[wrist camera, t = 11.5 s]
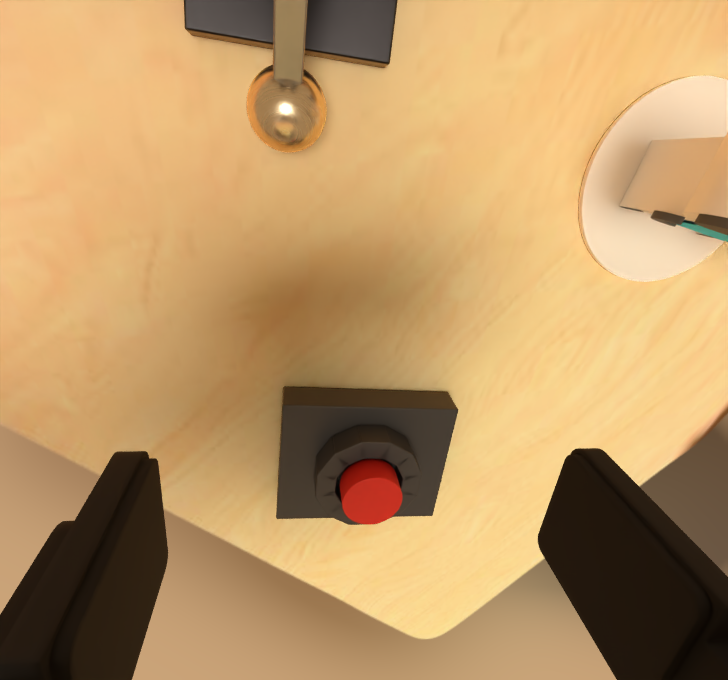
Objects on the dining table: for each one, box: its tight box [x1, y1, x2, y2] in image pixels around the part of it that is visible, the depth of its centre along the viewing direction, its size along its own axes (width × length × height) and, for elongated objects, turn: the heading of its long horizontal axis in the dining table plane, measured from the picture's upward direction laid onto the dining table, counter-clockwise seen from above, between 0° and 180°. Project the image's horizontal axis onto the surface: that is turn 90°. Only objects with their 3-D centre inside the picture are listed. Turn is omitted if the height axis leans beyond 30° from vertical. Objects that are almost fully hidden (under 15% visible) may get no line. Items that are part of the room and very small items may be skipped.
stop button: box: [340, 459, 402, 524], centre depth 26 cm, size 4×4×2 cm
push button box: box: [276, 387, 458, 525], centre depth 29 cm, size 11×9×4 cm
